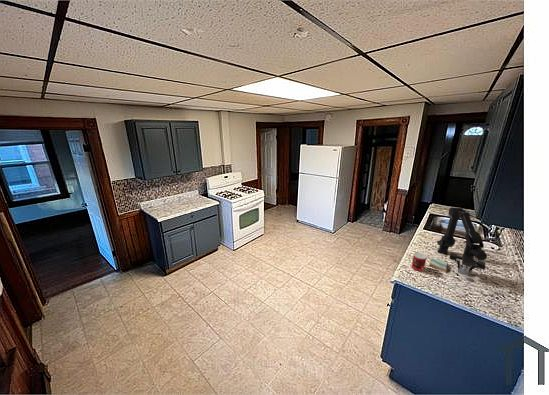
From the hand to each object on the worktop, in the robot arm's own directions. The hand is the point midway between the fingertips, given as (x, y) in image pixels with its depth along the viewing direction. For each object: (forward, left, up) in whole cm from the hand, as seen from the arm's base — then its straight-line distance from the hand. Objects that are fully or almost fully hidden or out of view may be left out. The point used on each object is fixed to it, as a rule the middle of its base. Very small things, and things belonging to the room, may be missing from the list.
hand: (463, 270), depth 154 cm
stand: (+3, -14, -1) cm, 14 cm away
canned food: (+16, -25, -1) cm, 30 cm away
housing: (0, 0, -1) cm, 1 cm away
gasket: (+7, +4, -2) cm, 8 cm away
